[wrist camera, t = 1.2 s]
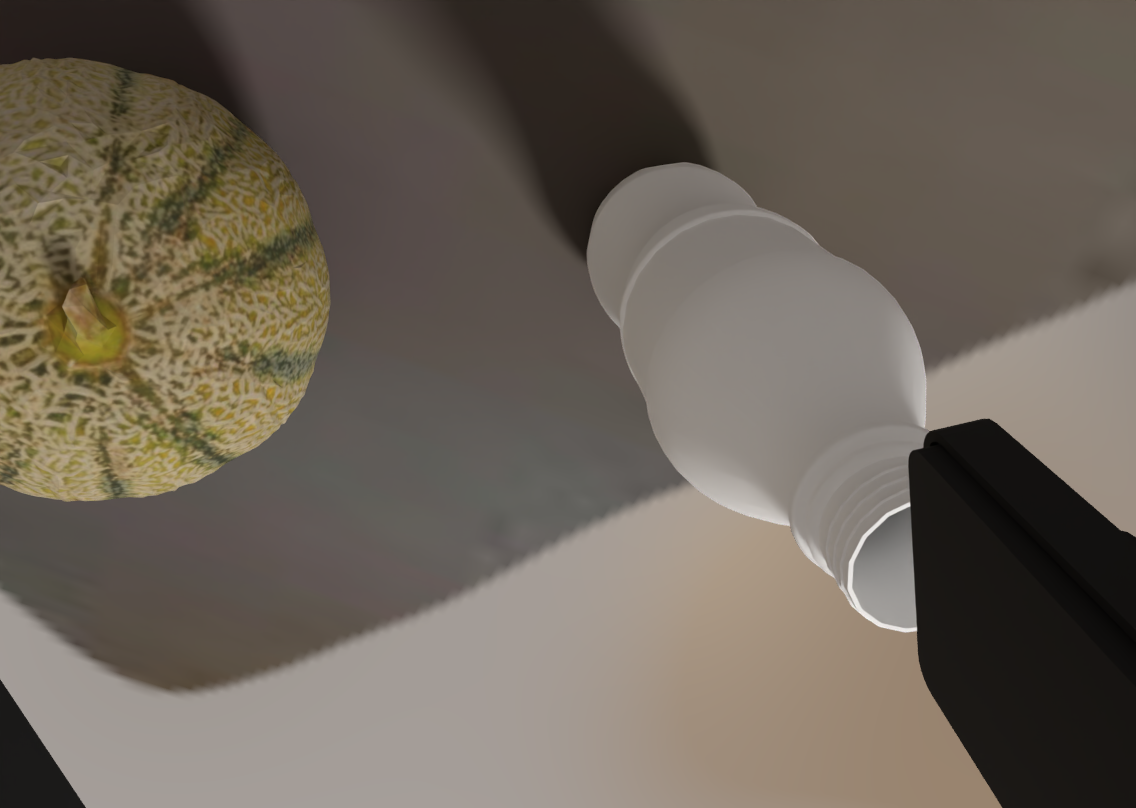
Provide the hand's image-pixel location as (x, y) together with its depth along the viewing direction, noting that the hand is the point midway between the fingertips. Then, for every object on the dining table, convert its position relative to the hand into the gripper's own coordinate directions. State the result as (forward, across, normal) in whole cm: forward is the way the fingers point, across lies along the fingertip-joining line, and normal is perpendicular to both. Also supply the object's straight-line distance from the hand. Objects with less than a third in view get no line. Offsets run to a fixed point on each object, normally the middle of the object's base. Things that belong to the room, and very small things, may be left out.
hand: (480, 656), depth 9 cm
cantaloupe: (+30, +13, 0) cm, 33 cm away
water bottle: (+31, -6, +5) cm, 32 cm away
